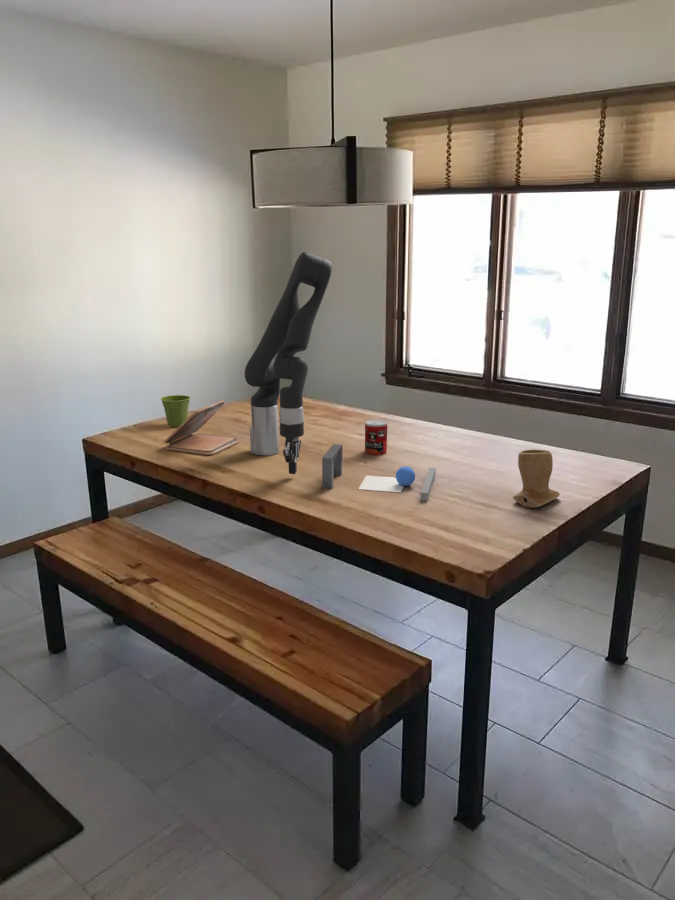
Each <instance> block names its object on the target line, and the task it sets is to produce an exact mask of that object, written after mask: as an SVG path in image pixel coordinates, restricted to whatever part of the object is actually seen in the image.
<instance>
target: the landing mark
mask: <svg viewBox="0 0 675 900" xmlns="http://www.w3.org/2000/svg"><path fill="white" fill-rule="evenodd" d="M404 487H405V486H403V485H400V484H399V483H398V482H397V480H396V476H395V477H392V476H378V475H377V476H376V475H366V476H365V477H364V479H363V481H362V482H361V483H360V485H359V487H358V490H359V491H360V490H362V491H373V492H374V491H375V492H385V493H386V492H388V493H398V494H399V493H402V491H403V489H404Z"/></svg>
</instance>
